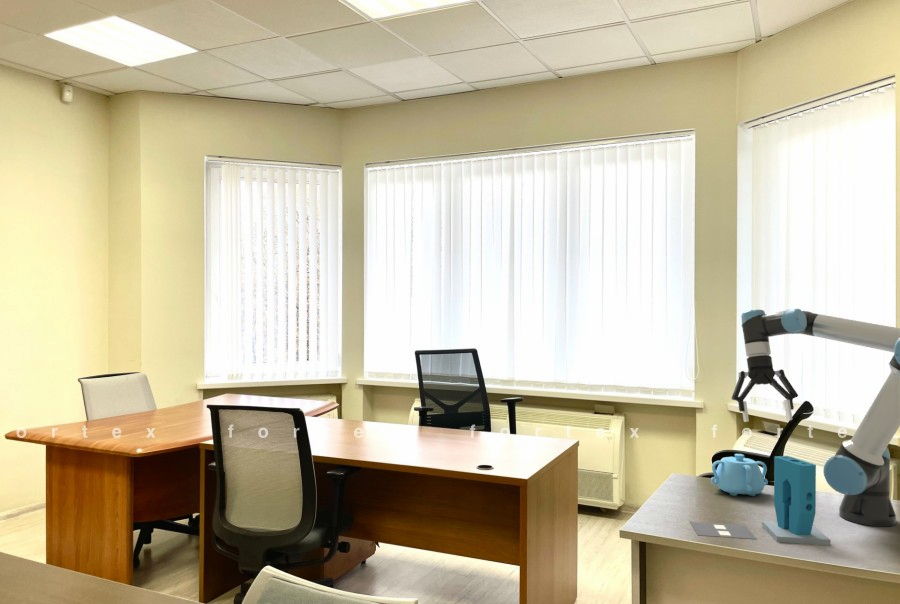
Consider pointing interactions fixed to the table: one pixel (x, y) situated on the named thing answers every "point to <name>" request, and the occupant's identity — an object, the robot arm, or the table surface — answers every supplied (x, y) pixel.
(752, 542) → the table surface
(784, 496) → the block
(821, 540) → the pad
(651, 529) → the table surface
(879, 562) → the table surface
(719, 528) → the mat
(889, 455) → the robot arm
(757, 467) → the decorative pot
